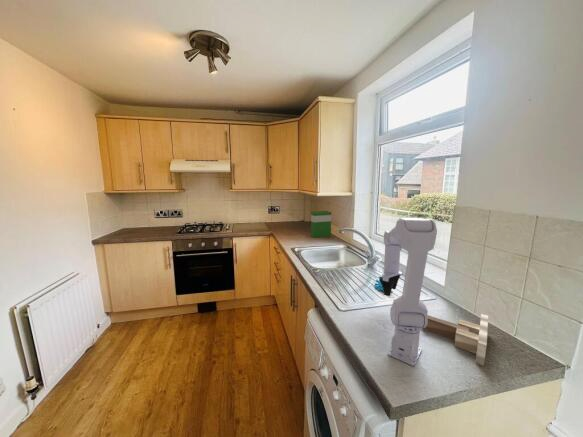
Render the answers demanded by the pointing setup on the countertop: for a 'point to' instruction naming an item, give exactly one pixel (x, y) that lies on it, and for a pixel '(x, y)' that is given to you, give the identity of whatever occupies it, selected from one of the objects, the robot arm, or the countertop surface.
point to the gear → (380, 284)
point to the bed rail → (443, 327)
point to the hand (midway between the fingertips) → (389, 291)
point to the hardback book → (320, 224)
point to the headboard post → (473, 338)
